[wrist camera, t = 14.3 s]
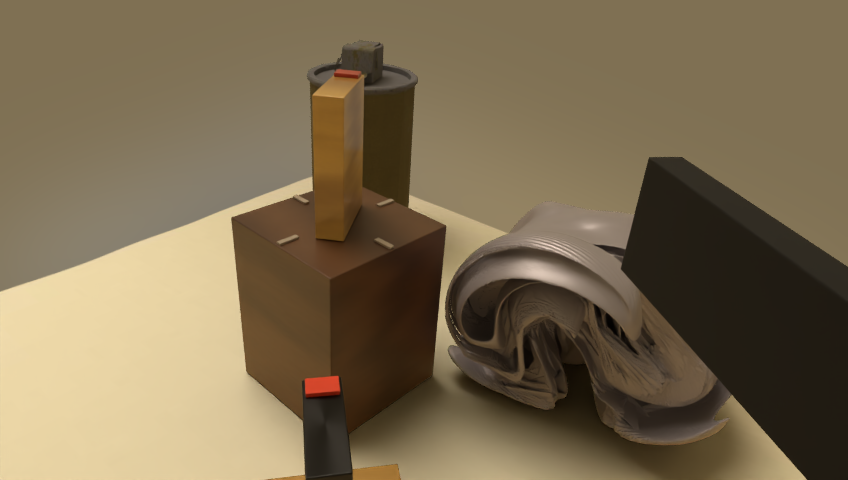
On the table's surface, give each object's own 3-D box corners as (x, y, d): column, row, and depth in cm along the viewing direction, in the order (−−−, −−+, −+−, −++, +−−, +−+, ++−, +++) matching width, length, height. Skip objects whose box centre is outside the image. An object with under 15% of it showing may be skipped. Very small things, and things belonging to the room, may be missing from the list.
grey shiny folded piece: (721, 398, 48) (772, 219, 44) (708, 534, 33) (783, 283, 29) (490, 326, 57) (514, 170, 53) (396, 409, 42) (419, 200, 37)
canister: (332, 208, 71) (330, 30, 61) (418, 222, 69) (430, 41, 59) (293, 251, 61) (284, 50, 52) (392, 269, 60) (401, 64, 50)
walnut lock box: (331, 445, 40) (330, 276, 33) (245, 371, 45) (230, 214, 39) (432, 375, 46) (446, 223, 40) (346, 318, 52) (347, 177, 46)
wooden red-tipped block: (343, 241, 37) (344, 93, 33) (315, 238, 37) (311, 90, 33) (362, 204, 42) (364, 70, 38) (336, 201, 42) (336, 68, 38)
